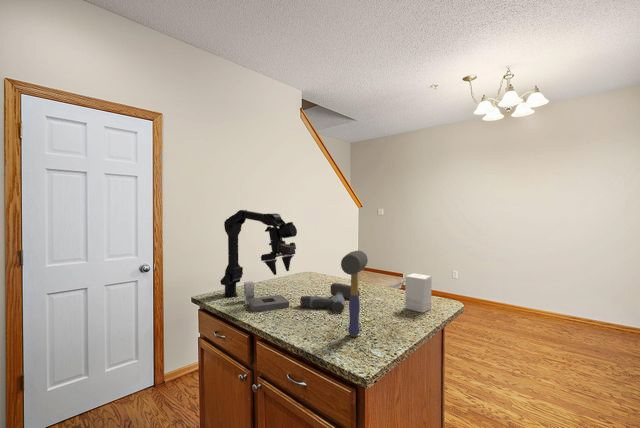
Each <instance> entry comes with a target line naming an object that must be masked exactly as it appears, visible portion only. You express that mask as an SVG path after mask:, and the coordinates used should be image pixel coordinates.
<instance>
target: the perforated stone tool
mask: <svg viewBox="0 0 640 428" xmlns="http://www.w3.org/2000/svg"><path fill="white" fill-rule="evenodd" d="M329 291H330V294H331V296H332V297H334V296H335V294H336V293H337V292H341V293H342V294H343V297H344V299H350V295H351V284H350V285H349V284H345V283H339V282H333V283H332V284H331V285H330V289H329ZM358 296H359V297H360V290H359V289H358Z"/></svg>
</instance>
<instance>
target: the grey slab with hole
mask: <svg viewBox="0 0 640 428" xmlns="http://www.w3.org/2000/svg"><path fill="white" fill-rule="evenodd" d="M248 306H249V307H250V309H251V310H252V312H253V313H258V312H266V311H272V310H278V309H279V310H280V309H287V308H290V302H289V300H287V298H285V296H283V295H282V294H278V295H277V294H276V295H268V296H260V297H254V298H250V299H249V303H248Z"/></svg>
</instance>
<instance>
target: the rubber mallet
mask: <svg viewBox="0 0 640 428" xmlns="http://www.w3.org/2000/svg"><path fill="white" fill-rule="evenodd" d="M368 259H369V258H368V256H367V254H366V253H365V252H364V251H361V250H353V251H350V252H349V253H347V254H345V255H344V256H343V257H342V259H341V262H340V267H341V270H342V271H343V272H344V273H345V274H347V275H350V286H351V295H350V298H348V299H349V302H348V313H349V323H348V324H349V326H348V330H347V331H348V334H349V335H350V337H358V335H359V334H360V331H361V330H360V325H359V320H360V319H359V317H360V316H359V315H360V310H361V309H360V305H361V303H360V295H359V296H358V290H359V273H360V272H361V271H363V270H364V269H365V268H366V267H367V265H368V261H369V260H368Z"/></svg>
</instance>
